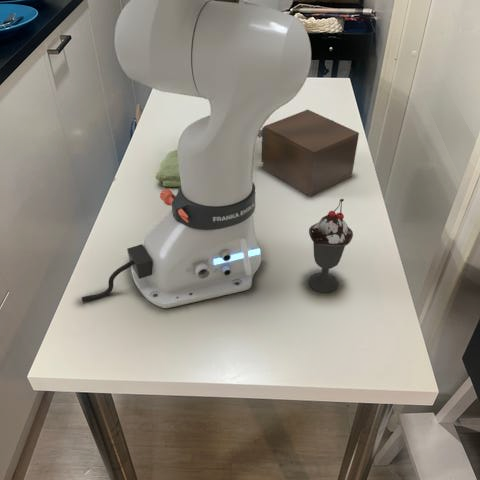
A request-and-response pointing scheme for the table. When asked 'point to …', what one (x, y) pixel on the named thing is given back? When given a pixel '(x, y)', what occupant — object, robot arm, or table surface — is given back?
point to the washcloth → (170, 170)
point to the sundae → (328, 248)
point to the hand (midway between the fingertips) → (251, 27)
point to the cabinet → (309, 151)
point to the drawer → (261, 134)
